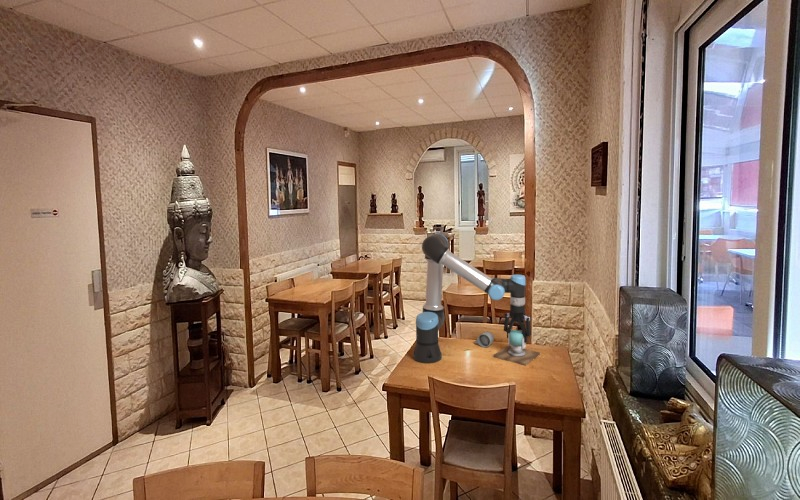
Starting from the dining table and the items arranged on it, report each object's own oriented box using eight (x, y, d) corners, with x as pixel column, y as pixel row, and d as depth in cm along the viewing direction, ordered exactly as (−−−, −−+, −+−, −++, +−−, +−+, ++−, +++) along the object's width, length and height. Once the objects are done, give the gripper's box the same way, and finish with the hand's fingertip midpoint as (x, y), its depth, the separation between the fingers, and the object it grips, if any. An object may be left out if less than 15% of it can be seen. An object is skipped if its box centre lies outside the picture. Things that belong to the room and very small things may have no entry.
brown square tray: (493, 357, 220) (493, 344, 219) (508, 347, 234) (509, 335, 233) (525, 365, 209) (525, 352, 208) (539, 354, 222) (540, 342, 221)
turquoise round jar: (507, 343, 220) (507, 331, 219) (513, 339, 225) (513, 327, 224) (520, 346, 215) (520, 334, 214) (526, 342, 221) (526, 330, 220)
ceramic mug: (494, 343, 239) (494, 330, 238) (490, 348, 232) (490, 335, 231) (477, 341, 245) (477, 328, 244) (472, 345, 238) (472, 332, 237)
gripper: (496, 302, 221) (496, 344, 224) (533, 309, 208) (532, 352, 211) (503, 299, 227) (502, 340, 230) (539, 305, 214) (538, 348, 217)
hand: (516, 346), depth 221 cm, fingers closed on turquoise round jar, 7 cm apart
